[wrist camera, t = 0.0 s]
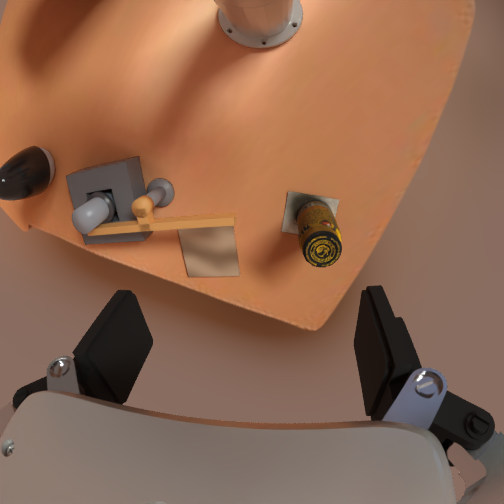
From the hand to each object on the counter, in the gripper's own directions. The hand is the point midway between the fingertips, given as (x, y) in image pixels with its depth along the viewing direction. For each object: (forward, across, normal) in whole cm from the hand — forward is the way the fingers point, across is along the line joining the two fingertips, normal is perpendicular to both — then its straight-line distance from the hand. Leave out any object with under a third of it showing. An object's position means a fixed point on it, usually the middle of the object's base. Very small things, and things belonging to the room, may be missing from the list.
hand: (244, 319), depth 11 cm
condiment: (+37, -5, +10) cm, 39 cm away
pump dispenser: (+37, +47, -6) cm, 60 cm away
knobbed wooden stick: (+30, +19, +5) cm, 36 cm away
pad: (+37, +13, +16) cm, 42 cm away
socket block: (+37, +27, +4) cm, 46 cm away
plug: (+37, +30, +4) cm, 48 cm away
